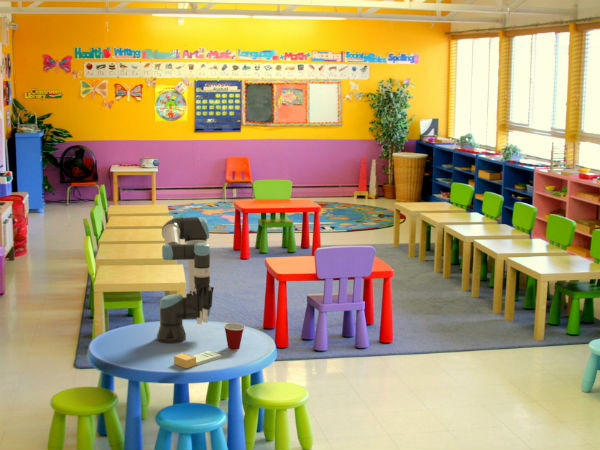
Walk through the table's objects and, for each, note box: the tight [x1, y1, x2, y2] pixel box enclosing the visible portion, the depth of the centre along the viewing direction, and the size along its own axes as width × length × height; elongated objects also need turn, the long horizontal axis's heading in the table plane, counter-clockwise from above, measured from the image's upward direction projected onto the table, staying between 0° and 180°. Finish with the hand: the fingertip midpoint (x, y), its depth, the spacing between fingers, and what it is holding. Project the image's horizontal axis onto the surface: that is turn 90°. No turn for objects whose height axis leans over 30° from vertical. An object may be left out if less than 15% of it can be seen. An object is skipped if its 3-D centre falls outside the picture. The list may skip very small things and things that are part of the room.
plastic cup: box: [223, 322, 246, 351], centre depth 412 cm, size 11×11×12 cm
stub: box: [173, 352, 196, 369], centre depth 387 cm, size 9×6×4 cm, turn 48°
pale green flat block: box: [192, 350, 222, 367], centre depth 395 cm, size 9×16×2 cm, turn 138°
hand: (202, 322), depth 392 cm, fingers open, 3 cm apart
